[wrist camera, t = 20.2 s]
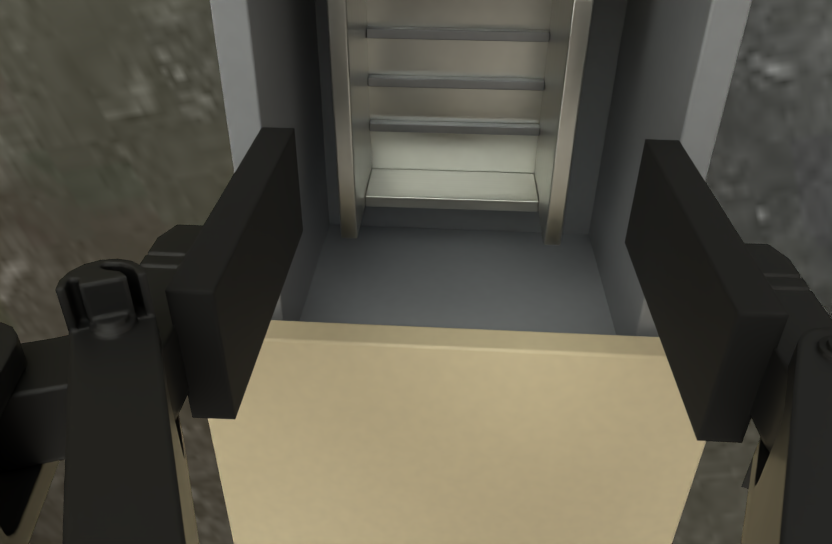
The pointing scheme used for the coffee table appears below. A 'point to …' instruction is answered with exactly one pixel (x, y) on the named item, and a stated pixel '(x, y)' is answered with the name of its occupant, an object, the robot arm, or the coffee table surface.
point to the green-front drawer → (484, 229)
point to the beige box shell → (455, 438)
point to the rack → (456, 104)
